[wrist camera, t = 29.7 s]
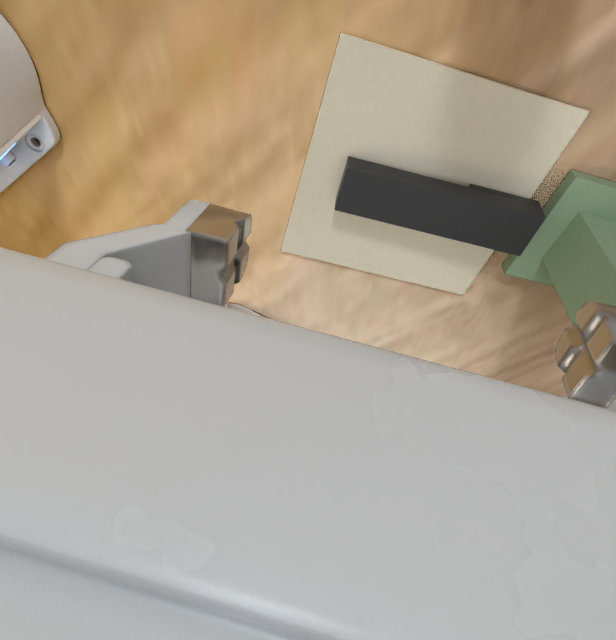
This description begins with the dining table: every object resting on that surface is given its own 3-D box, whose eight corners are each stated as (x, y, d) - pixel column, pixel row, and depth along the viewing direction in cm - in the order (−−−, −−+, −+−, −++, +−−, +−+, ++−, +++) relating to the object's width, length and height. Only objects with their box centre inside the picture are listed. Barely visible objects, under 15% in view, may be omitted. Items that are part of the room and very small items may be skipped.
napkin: (280, 248, 52) (280, 251, 52) (340, 31, 37) (340, 33, 37) (462, 293, 55) (463, 295, 55) (588, 110, 40) (590, 112, 40)
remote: (347, 167, 42) (348, 151, 44) (334, 210, 45) (336, 194, 47) (546, 218, 43) (538, 201, 45) (520, 256, 47) (514, 238, 49)
